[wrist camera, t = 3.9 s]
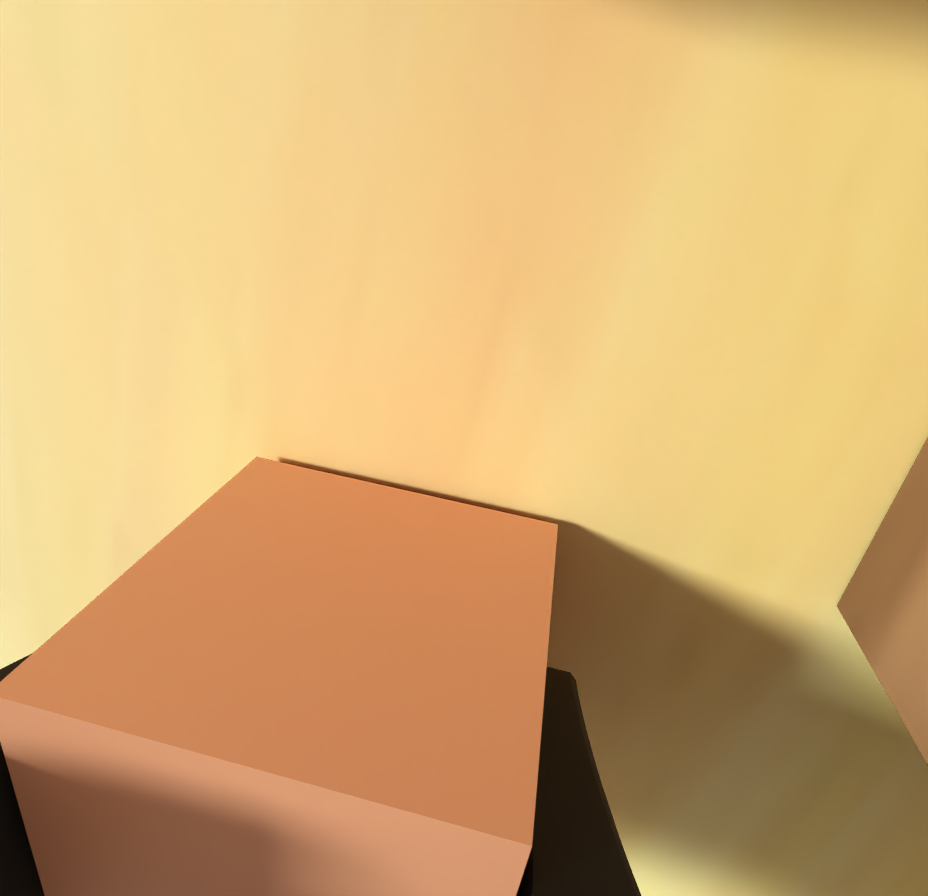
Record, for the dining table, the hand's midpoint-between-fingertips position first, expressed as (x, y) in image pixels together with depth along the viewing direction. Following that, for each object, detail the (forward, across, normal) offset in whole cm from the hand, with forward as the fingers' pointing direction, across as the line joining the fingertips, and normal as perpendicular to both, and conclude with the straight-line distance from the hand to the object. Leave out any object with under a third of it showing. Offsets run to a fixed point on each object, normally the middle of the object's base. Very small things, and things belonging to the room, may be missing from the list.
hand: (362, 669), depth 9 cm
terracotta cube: (+1, 0, 0) cm, 1 cm away
